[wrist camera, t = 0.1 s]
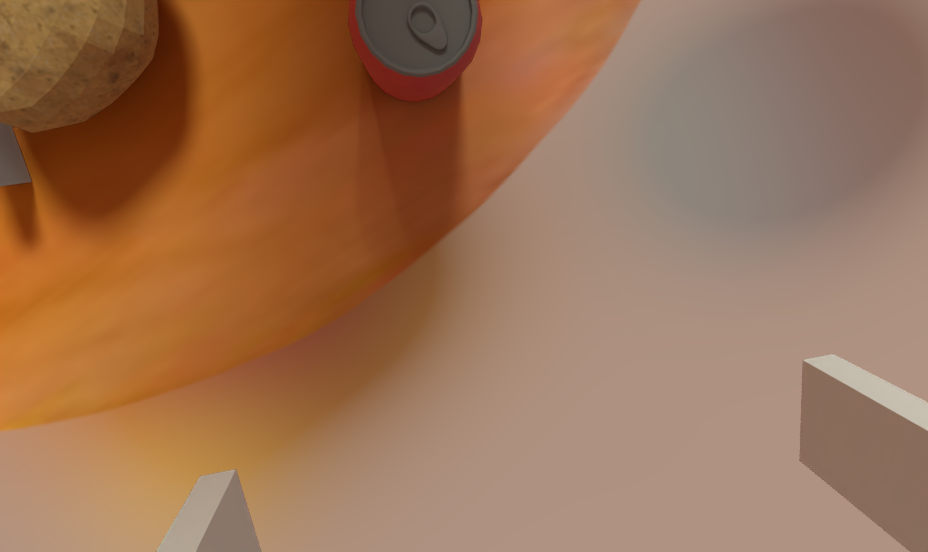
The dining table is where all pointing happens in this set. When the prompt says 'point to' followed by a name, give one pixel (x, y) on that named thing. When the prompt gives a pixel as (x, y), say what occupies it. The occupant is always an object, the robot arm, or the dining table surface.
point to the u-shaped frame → (11, 159)
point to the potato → (70, 57)
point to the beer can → (415, 43)
